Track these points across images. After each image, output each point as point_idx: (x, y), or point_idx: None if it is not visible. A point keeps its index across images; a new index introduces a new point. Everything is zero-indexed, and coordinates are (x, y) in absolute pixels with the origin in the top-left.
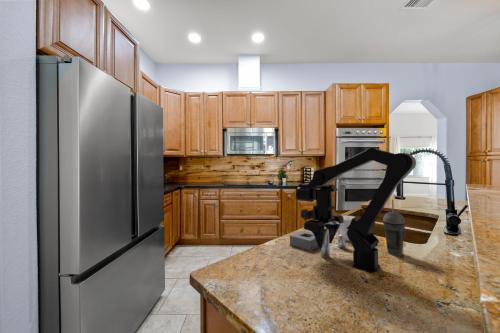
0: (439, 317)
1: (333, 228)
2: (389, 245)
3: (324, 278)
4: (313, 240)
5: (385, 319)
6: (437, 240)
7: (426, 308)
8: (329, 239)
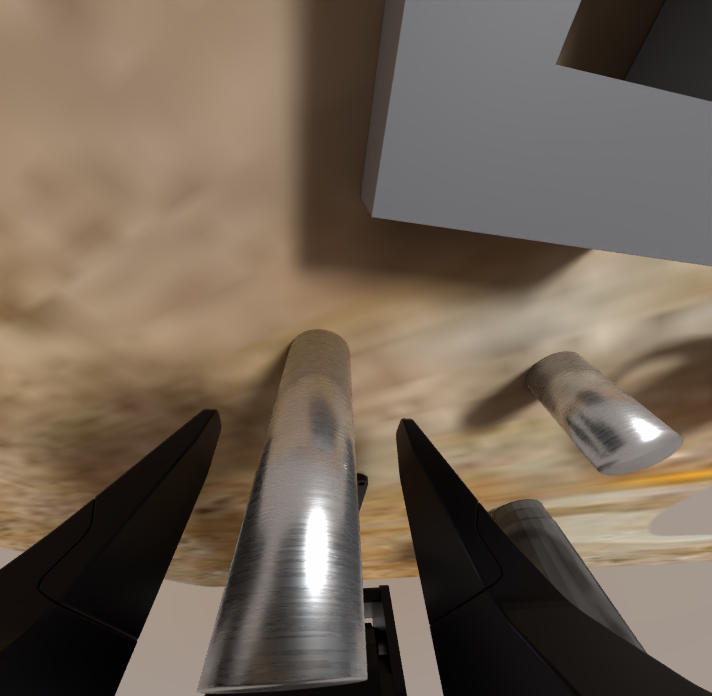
0: (186, 574)
1: (452, 659)
2: (520, 548)
3: (58, 442)
4: (466, 226)
5: None
6: (686, 541)
7: (198, 566)
8: (405, 459)
